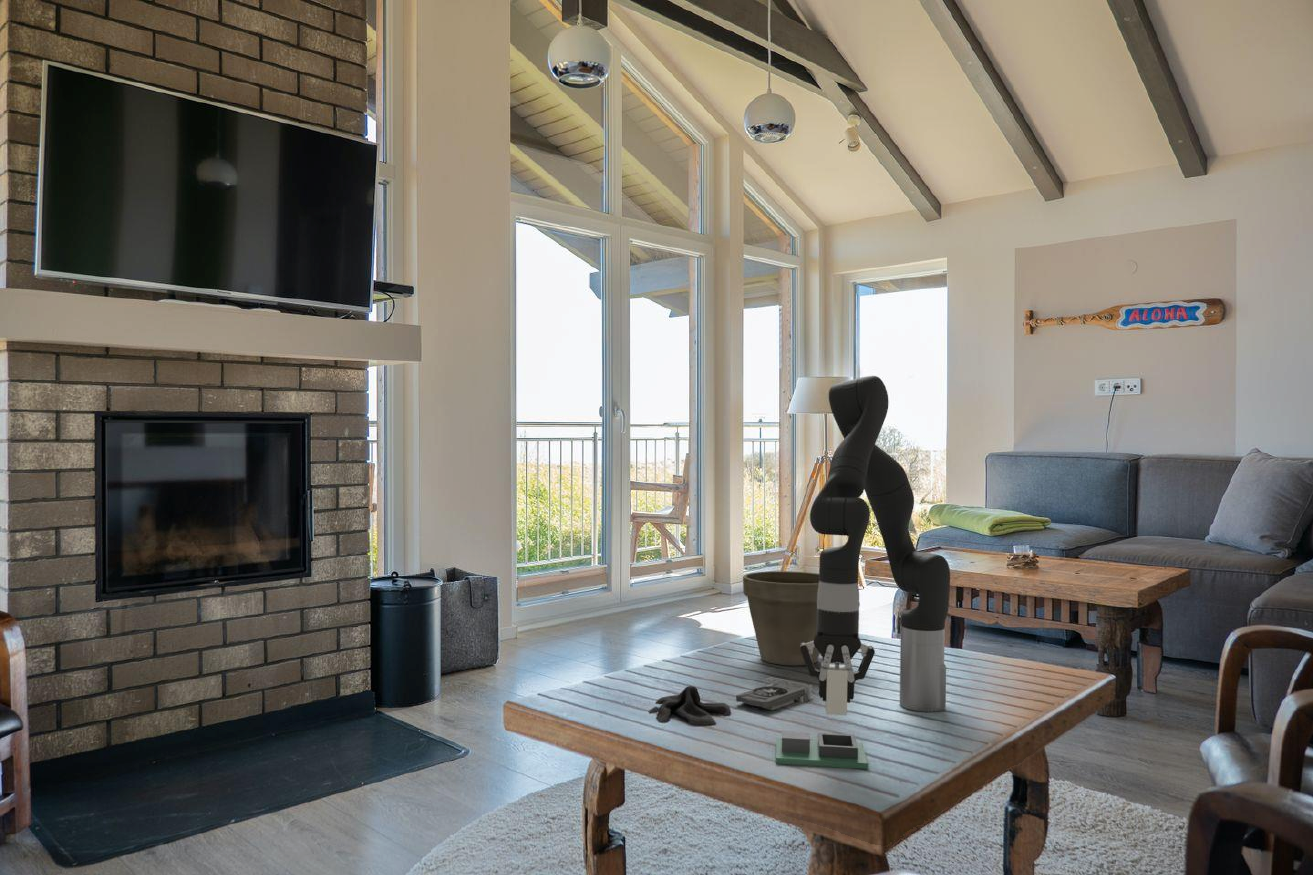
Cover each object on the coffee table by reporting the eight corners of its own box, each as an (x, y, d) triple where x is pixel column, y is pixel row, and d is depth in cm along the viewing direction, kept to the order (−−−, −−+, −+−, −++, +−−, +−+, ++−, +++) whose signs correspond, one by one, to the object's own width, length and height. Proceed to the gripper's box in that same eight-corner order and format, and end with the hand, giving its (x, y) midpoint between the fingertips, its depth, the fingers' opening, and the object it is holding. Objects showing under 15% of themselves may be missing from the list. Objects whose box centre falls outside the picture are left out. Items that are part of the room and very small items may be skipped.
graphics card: (769, 675, 219) (813, 683, 211) (769, 691, 219) (813, 700, 211) (723, 690, 207) (768, 699, 199) (723, 707, 207) (768, 717, 199)
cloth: (668, 696, 213) (669, 669, 213) (745, 708, 204) (746, 680, 204) (619, 723, 193) (619, 693, 193) (702, 737, 185) (703, 706, 185)
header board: (862, 748, 178) (862, 729, 178) (867, 768, 167) (868, 748, 167) (776, 743, 180) (776, 725, 180) (775, 763, 169) (776, 743, 169)
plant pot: (784, 644, 265) (785, 566, 265) (857, 660, 247) (858, 577, 247) (722, 658, 248) (723, 574, 248) (796, 676, 230) (797, 587, 230)
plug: (845, 708, 175) (846, 660, 175) (846, 715, 171) (847, 666, 171) (825, 707, 176) (826, 659, 176) (826, 714, 171) (827, 665, 171)
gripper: (875, 604, 176) (873, 697, 176) (798, 601, 178) (796, 693, 178) (879, 611, 168) (877, 709, 168) (798, 608, 170) (796, 704, 170)
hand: (835, 700), depth 173 cm, fingers closed on plug, 3 cm apart
